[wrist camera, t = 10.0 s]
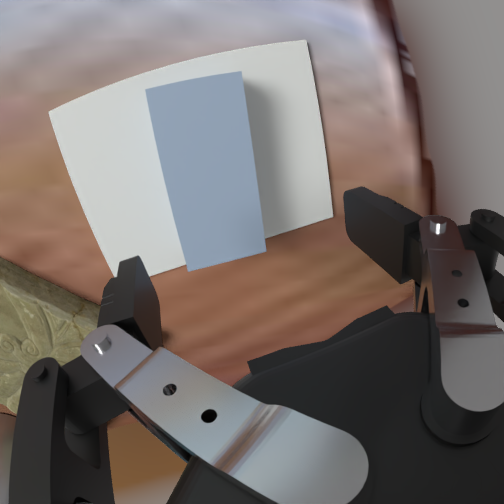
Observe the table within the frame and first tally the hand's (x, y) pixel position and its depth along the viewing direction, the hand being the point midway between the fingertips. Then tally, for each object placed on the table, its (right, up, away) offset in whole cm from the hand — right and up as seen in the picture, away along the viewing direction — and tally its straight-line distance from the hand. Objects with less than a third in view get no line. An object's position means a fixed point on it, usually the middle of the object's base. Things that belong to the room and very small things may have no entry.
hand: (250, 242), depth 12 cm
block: (-3, +6, +10) cm, 12 cm away
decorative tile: (-22, -11, +15) cm, 29 cm away
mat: (-4, +6, +11) cm, 13 cm away
